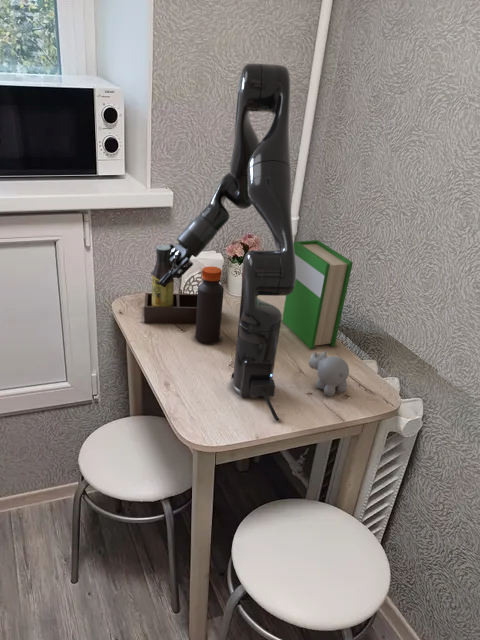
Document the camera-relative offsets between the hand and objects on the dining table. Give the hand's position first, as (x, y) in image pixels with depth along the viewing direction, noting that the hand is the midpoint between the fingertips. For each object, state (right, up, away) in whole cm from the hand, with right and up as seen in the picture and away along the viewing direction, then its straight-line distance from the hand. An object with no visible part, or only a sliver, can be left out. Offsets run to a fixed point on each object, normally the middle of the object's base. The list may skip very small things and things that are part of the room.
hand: (157, 280), depth 149 cm
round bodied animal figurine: (+42, -30, -21) cm, 55 cm away
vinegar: (+14, -17, -4) cm, 23 cm away
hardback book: (+43, -15, +1) cm, 46 cm away
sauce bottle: (+1, -8, +6) cm, 11 cm away
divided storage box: (+6, -9, +7) cm, 13 cm away
